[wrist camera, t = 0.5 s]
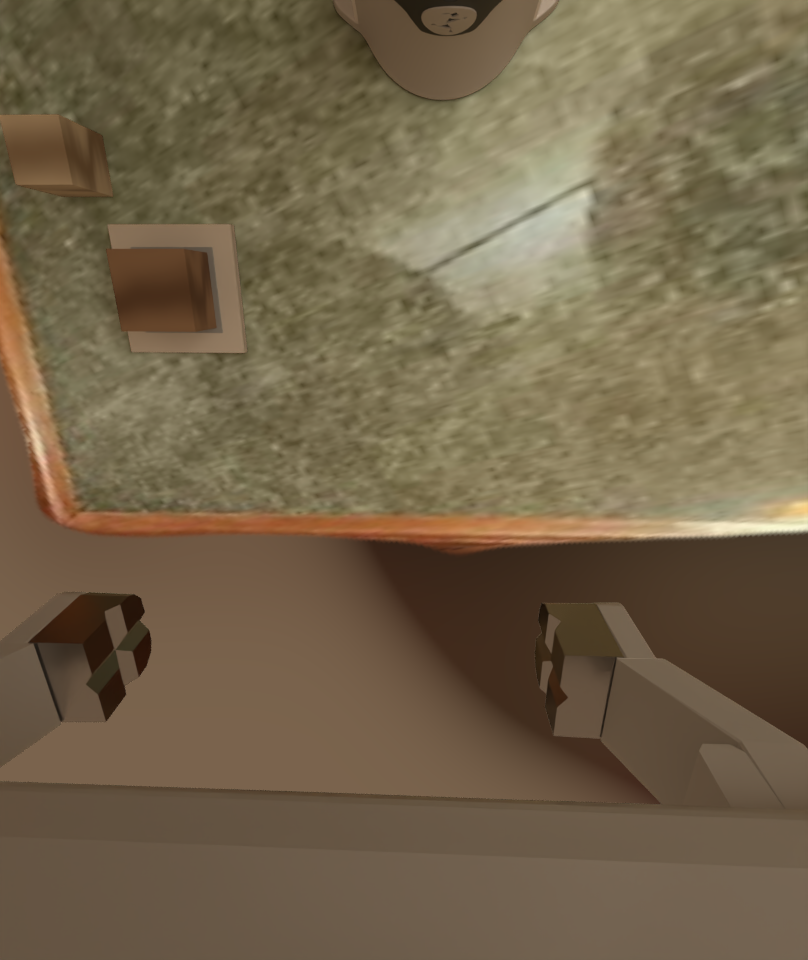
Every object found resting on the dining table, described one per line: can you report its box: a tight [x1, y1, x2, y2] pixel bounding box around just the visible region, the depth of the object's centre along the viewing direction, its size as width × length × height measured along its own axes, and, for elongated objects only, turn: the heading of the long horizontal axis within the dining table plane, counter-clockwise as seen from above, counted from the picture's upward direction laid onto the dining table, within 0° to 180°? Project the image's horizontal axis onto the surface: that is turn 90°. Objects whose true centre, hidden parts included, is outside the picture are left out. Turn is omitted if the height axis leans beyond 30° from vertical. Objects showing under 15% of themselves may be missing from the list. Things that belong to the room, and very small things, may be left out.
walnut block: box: [106, 249, 217, 332], centre depth 47 cm, size 7×7×5 cm
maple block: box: [0, 114, 113, 197], centre depth 44 cm, size 5×5×6 cm
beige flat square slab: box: [107, 224, 247, 353], centre depth 50 cm, size 12×12×1 cm
